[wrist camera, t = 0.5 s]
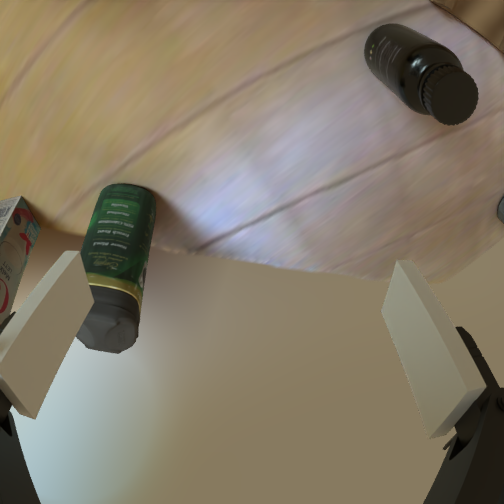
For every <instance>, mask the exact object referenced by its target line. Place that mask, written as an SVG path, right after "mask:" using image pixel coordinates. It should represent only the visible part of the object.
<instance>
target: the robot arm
mask: <svg viewBox="0 0 504 504" xmlns="http://www.w3.org/2000/svg"><path fill="white" fill-rule="evenodd" d="M93 304H94V299H93V296H92V293H91V290H90V286H89V283H88V280H87V276H86V273H85V269H84V266H83V262H82V258H81V255H80V251H65V252H64V253H63V254H62V255H61V256H60V257H59V259H58V260H57V261H56V262H55V263H54V265H53V266H52V267H51V268H50V269H49V271H48V272H47V273H46V275H45V276H44V277H43V278H42V279H41V281H40V282H39V283H38V284H37V286H36V287H35V288H34V289H33V291H32V292H31V293H30V295H29V296H28V297H27V299H26V300H25V301H24V302H23V304H22V305H21V307H20V308H19V309H18V311H17V312H13V313H12V314H11V315H9V316H8V317H7V318H6V319H5V320H4V321H3V322H2V324H1V325H0V504H41V503H40V500H39V498H38V496H37V493H36V490H35V488H34V485H33V482H32V479H31V477H30V474H29V471H28V468H27V465H26V462H25V459H24V455H23V452H22V449H21V446H20V442H19V438H18V435H17V431H16V427H15V423H14V419H13V416H12V414H11V412H10V411H9V410H10V408H11V406H12V405H13V406H14V408H15V409H16V410H17V411H18V412H19V414H21V415H24V416H27V417H29V418H32V419H36V417H37V414H38V412H39V410H40V407H41V405H42V403H43V401H44V399H45V397H46V394H47V392H48V390H49V388H50V386H51V384H52V382H53V379H54V377H55V375H56V373H57V371H58V369H59V367H60V365H61V363H62V361H63V359H64V357H65V355H66V353H67V351H68V349H69V348H70V346H71V344H72V342H73V340H74V338H75V336H76V334H77V332H78V331H79V329H80V327H81V325H82V323H83V321H84V320H85V318H86V316H87V314H88V312H89V311H90V309H91V307H92V305H93ZM381 313H382V315H383V318H384V320H385V322H386V325H387V327H388V330H389V332H390V335H391V337H392V340H393V342H394V345H395V347H396V350H397V352H398V355H399V358H400V360H401V363H402V366H403V368H404V371H405V374H406V376H407V379H408V382H409V385H410V387H411V390H412V393H413V396H414V398H415V402H416V405H417V407H418V411H419V414H420V416H421V419H422V423H423V426H424V429H425V432H426V435H427V438H428V439H431V438H435V437H440V436H444V435H446V434H447V433H448V432H449V431H450V430H451V429H452V428H453V427H454V426H455V429H456V432H457V433H456V434H455V436H454V437H453V438H452V439H451V440H450V441H449V442H448V443H447V444H446V445H445V446H444V448H443V449H444V450H446V449H447V448H448V447H449V446H450V447H449V449H448V452H447V454H446V457H445V459H444V461H443V463H442V466H441V468H440V470H439V472H438V475H437V477H436V479H435V481H434V483H433V485H432V487H431V489H430V491H429V493H428V495H427V497H426V499H425V501H424V503H423V504H504V388H500V387H499V385H498V383H497V381H496V380H495V378H494V376H493V374H492V372H491V370H490V368H489V366H488V364H487V363H486V361H485V359H484V357H482V354H481V352H480V350H479V349H478V348H477V345H476V343H475V341H474V340H473V338H472V336H471V335H470V334H469V333H468V332H467V331H465V329H464V328H462V327H455V326H454V325H453V323H452V321H451V320H450V318H449V316H448V314H447V313H446V311H445V310H444V308H443V307H442V305H441V303H440V301H439V300H438V298H437V297H436V295H435V293H434V292H433V290H432V289H431V287H430V286H429V284H428V283H427V281H426V280H425V278H424V276H423V275H422V273H421V272H420V270H419V269H418V267H417V266H416V265H415V263H414V262H413V260H397V261H396V264H395V268H394V271H393V274H392V278H391V281H390V285H389V289H388V291H387V294H386V298H385V301H384V303H383V307H382V310H381Z"/></svg>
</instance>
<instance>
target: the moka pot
mask: <svg viewBox="0 0 504 504" xmlns="http://www.w3.org/2000/svg"><path fill="white" fill-rule="evenodd" d="M498 218H499V219H500V220H501V221H502V222H503V223H504V197H503V199H502V201H501V203H500V204H499V207H498Z"/></svg>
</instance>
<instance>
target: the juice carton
mask: <svg viewBox="0 0 504 504" xmlns="http://www.w3.org/2000/svg"><path fill="white" fill-rule="evenodd" d="M40 230H41V228H40V226H39V224H38V223H37V221H36V220H35V218H34V216H33V215H32V213H31V211H30V210H29V208H28V206H27V205H26V203H25V201H24V200H23V198H22V196H18V197H14V198H10V199H6V200H2V201H0V325H1V324H2V322H3V321H4V320H5V319H6V318H7V317H8V316H9V315H10V312H11V309H12V305H13V302H14V299H15V296H16V293H17V290H18V286H19V284H20V281H21V278H22V275H23V272H24V270H25V267H26V264H27V261H28V259H29V256H30V253H31V251H32V249H33V246H34V244H35V241H36V239H37V237H38V234H39V232H40Z"/></svg>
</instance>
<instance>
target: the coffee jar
mask: <svg viewBox="0 0 504 504" xmlns="http://www.w3.org/2000/svg"><path fill="white" fill-rule="evenodd" d="M155 216H156V202H155V199H154V197H153V195H152V194H151V193H150V192H148V191H147V190H145V189H143V188H140V187H138V186H134V185H130V184H112V185H109V186H107V187H105V188H104V189H103V190H102V191H101V193H100V196H99V198H98V201H97V203H96V206H95V209H94V212H93V215H92V218H91V221H90V224H89V227H88V230H87V233H86V236H85V240H84V242H83V245H82V249H81V252H80V255H81V258H82V262H83V266H84V269H85V273H86V276H87V280H88V283H89V286H90V290H91V293H92V296H93V299H94V304H93V305H92V307H91V309H90V311H89V312H88V314H87V316H86V318H85V320H84V321H83V323H82V325H81V327H80V329H79V331H78V332H77V334H76V337H77V339H79V340H80V341H81V342H82V343H83V344H84V345H85V346H86V347H87V348H88V349H93V350H98V351H104V352H110V353H117V354H119V353H121V352H122V351H124V350H126V349H128V348H130V347H131V346H133V344H134V343H135V342H136V338H137V337H138V327H139V322H140V313H141V305H142V297H143V290H144V283H145V276H146V269H147V263H148V256H149V250H150V244H151V239H152V234H153V228H154V222H155Z"/></svg>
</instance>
